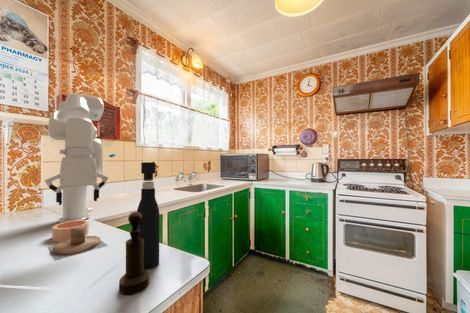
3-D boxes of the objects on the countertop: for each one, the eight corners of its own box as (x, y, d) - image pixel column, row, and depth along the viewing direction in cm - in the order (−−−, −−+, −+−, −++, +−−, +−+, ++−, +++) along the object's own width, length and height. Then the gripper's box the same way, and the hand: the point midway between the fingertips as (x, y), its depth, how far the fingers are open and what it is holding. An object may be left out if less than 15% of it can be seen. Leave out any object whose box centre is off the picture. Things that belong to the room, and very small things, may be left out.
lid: (76, 238, 77) (76, 222, 78) (108, 239, 76) (108, 223, 77) (41, 254, 64) (41, 234, 65) (79, 255, 63) (79, 236, 64)
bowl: (70, 231, 86) (70, 219, 86) (94, 232, 85) (95, 220, 85) (44, 242, 75) (44, 228, 75) (71, 243, 74) (72, 229, 74)
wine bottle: (163, 264, 59) (164, 162, 60) (140, 273, 55) (141, 162, 55) (153, 257, 64) (154, 162, 64) (131, 264, 59) (132, 162, 60)
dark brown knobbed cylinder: (126, 278, 52) (127, 209, 52) (152, 277, 53) (153, 208, 53) (113, 296, 45) (114, 216, 46) (143, 294, 46) (144, 215, 46)
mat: (47, 248, 70) (47, 247, 70) (95, 236, 80) (95, 235, 80) (54, 262, 61) (54, 260, 61) (107, 246, 71) (107, 245, 71)
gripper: (44, 152, 62) (43, 208, 62) (109, 153, 74) (109, 200, 73) (46, 153, 68) (45, 204, 68) (106, 154, 79) (105, 198, 79)
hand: (78, 202), depth 70 cm, fingers open, 9 cm apart
